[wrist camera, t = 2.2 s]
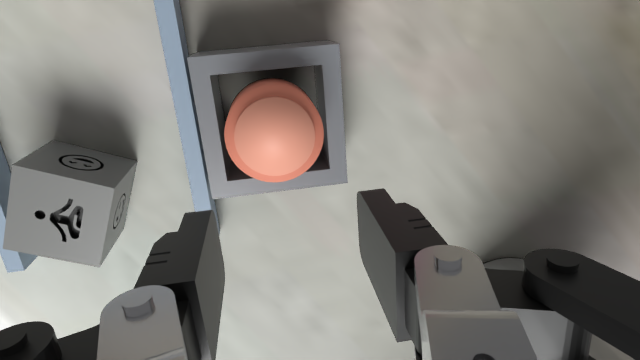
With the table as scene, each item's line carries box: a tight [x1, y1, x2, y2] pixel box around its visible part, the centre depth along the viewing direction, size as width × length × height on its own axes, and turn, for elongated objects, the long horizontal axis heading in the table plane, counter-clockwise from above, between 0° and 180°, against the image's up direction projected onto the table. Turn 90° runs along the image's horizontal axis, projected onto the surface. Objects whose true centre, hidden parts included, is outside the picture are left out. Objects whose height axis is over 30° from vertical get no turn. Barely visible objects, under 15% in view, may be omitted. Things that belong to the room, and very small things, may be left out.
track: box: [0, 0, 220, 272], centre depth 25 cm, size 13×22×2 cm, turn 5°
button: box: [224, 78, 324, 182], centre depth 23 cm, size 5×5×3 cm
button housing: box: [187, 40, 348, 199], centre depth 26 cm, size 8×8×4 cm
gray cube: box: [3, 140, 137, 267], centre depth 26 cm, size 5×5×5 cm
